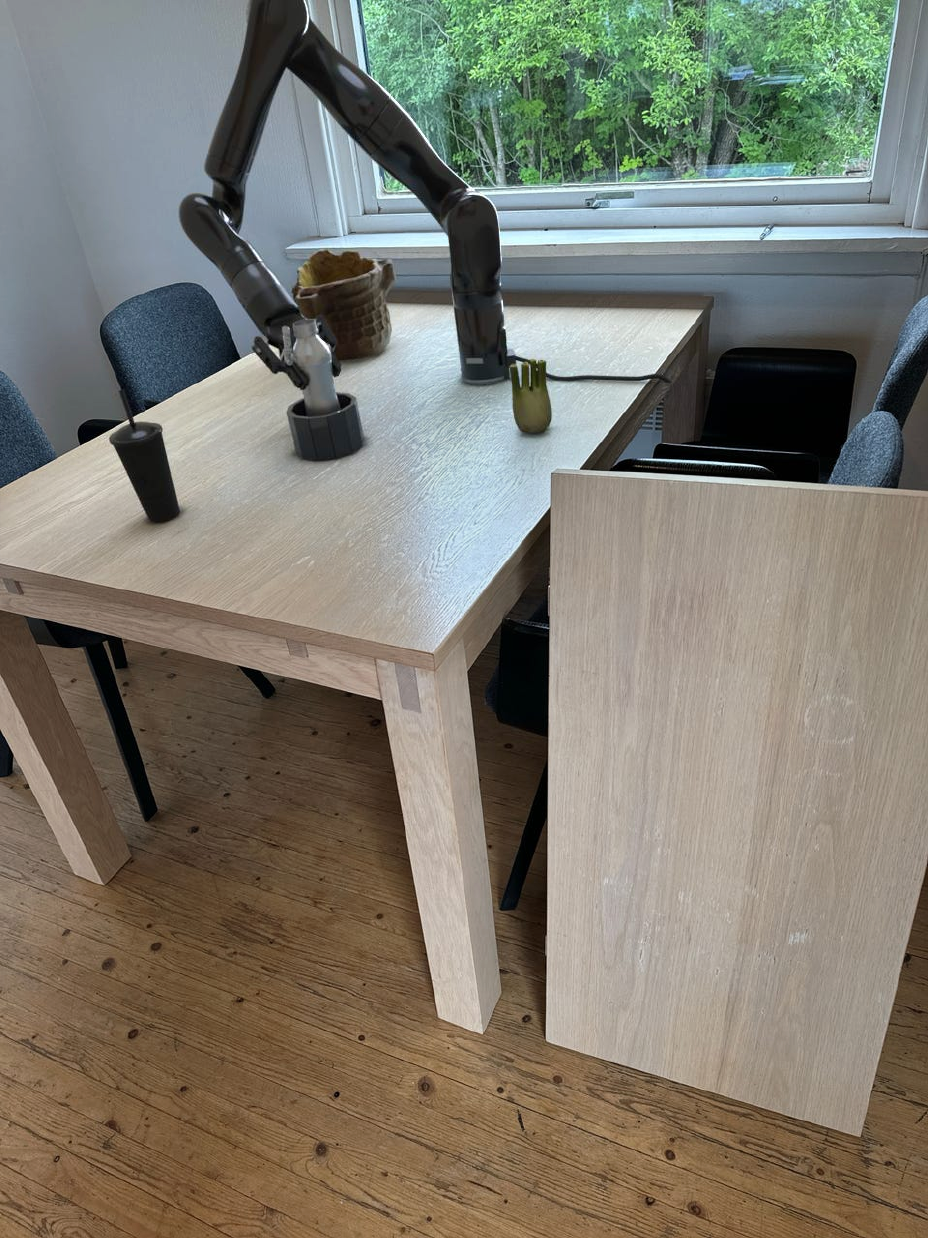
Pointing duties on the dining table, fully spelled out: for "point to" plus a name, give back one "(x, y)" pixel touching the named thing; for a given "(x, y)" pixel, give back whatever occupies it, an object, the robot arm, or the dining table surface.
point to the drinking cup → (147, 466)
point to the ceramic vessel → (348, 300)
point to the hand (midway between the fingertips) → (321, 380)
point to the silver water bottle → (314, 369)
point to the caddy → (326, 430)
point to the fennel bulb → (531, 397)
